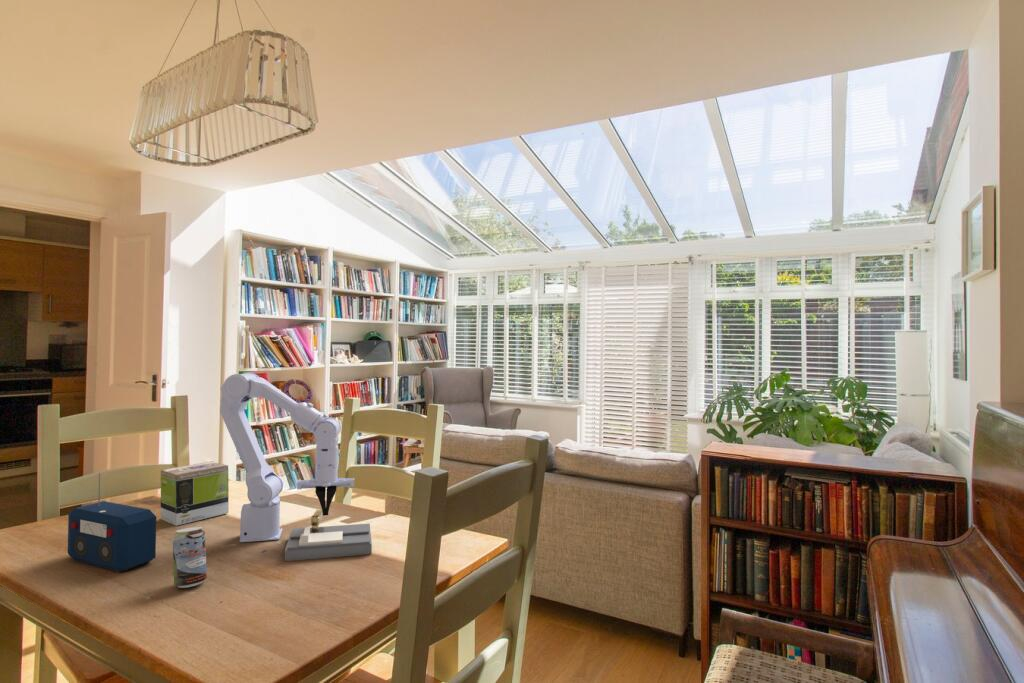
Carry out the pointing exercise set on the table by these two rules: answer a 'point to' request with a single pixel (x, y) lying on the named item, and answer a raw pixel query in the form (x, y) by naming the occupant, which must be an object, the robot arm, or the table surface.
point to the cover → (320, 538)
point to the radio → (111, 535)
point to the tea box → (194, 492)
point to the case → (352, 544)
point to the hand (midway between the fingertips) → (325, 514)
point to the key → (316, 519)
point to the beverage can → (189, 557)
